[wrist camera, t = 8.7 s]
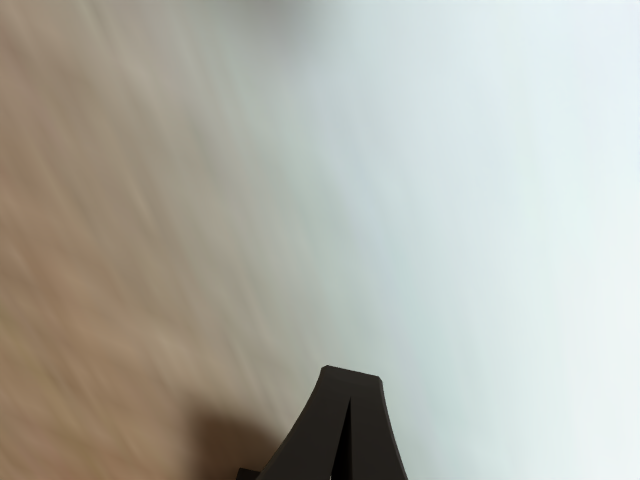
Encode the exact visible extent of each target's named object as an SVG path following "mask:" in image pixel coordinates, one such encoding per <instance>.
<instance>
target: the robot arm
mask: <svg viewBox="0 0 640 480" xmlns="http://www.w3.org/2000/svg"><path fill="white" fill-rule="evenodd" d="M330 476H331V480H408V478H407V475H406V472H405V469H404V466H403V463H402V460H401V457H400V454H399V451H398V448H397V444H396V441H395V438H394V434H393V431H392V427H391V423H390V419H389V415H388V411H387V407H386V402H385V397H384V391H383V384H382V380H381V379H380V378H379V376H374V375H370V374H365V373H361V372H356V371H351V370H347V369H342V368H338V367H333V366H329V365H327V366H324V367H322V368H321V372H320V375H319V378H318V381H317V383H316V385H315V388H314V390H313V392H312V394H311V396H310V398H309V400H308V402H307V403H306V405H305V407H304V409H303V411H302V412H301V414H300V416H299V417H298V419H297V421H296V422H295V424H294V426H293V427H292V429H291V430H290V432H289V434H288V435H287V437H286V438H285V440H284V441H283V443H282V444H281V445H280V447H279V448H278V450H277V451H276V453H275V454H274V455H273V457H272V458H271V460H270V461H269V462H268V464H267V465H266V467H265V468H264V469H263V471H262V472H261V473H260V475H259V476H258V477H257V478H256V480H330Z"/></svg>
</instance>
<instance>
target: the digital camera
mask: <svg viewBox="0 0 640 480" xmlns="http://www.w3.org/2000/svg"><path fill="white" fill-rule="evenodd" d="M259 475H260V472H256V471H251V470H247V469H243V468H240V469H239V472H238V475H237V478H236V480H256V478H257V477H258V476H259Z"/></svg>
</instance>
